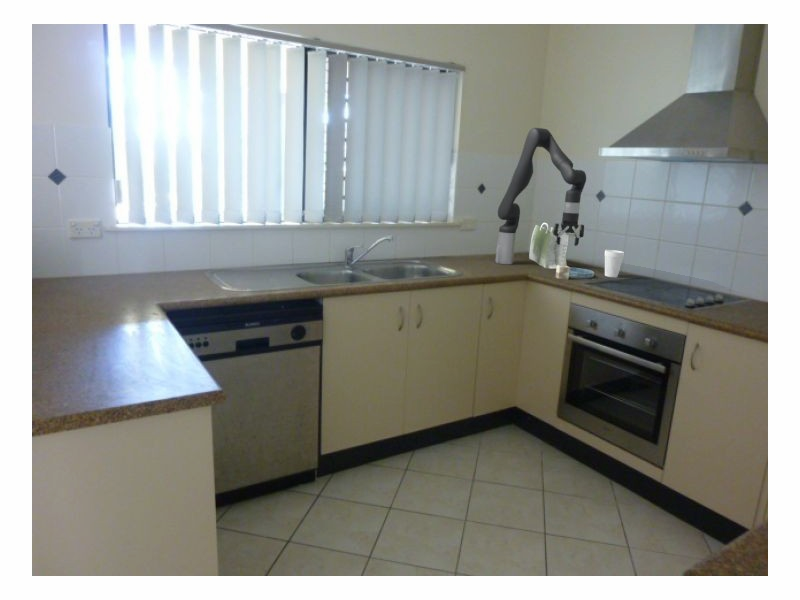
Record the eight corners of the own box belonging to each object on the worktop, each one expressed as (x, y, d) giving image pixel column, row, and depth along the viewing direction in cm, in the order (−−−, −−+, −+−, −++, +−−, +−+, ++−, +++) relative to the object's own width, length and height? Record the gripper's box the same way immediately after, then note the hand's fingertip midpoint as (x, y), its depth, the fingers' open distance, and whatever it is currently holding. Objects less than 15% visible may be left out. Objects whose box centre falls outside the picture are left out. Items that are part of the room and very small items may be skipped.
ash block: (558, 278, 279) (559, 266, 278) (555, 277, 284) (556, 265, 283) (568, 279, 279) (569, 267, 278) (565, 277, 284) (566, 265, 283)
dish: (566, 277, 285) (566, 272, 284) (557, 271, 300) (557, 266, 300) (597, 278, 285) (598, 274, 284) (587, 273, 301) (587, 268, 300)
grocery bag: (569, 269, 309) (575, 226, 304) (544, 268, 308) (550, 225, 303) (550, 259, 340) (554, 220, 335) (527, 258, 339) (532, 219, 334)
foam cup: (603, 273, 302) (607, 249, 299) (622, 276, 298) (625, 251, 295) (600, 275, 294) (603, 251, 291) (618, 278, 290) (622, 253, 287)
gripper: (558, 211, 271) (554, 245, 274) (588, 213, 271) (583, 247, 275) (554, 210, 278) (550, 243, 282) (583, 212, 278) (578, 244, 282)
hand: (567, 245), depth 278 cm, fingers open, 8 cm apart
